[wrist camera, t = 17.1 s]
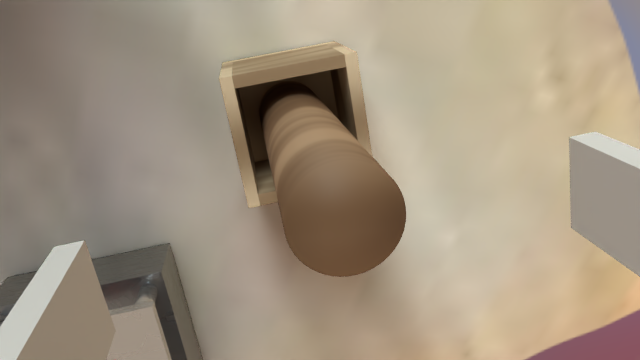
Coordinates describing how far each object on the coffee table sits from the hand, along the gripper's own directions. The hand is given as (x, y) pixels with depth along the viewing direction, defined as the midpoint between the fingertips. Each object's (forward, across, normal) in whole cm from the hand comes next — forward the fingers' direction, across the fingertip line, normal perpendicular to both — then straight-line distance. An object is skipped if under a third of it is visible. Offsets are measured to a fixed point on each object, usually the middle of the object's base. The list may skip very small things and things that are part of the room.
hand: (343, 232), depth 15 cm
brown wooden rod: (+19, 0, -1) cm, 19 cm away
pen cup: (+20, 0, -1) cm, 20 cm away
